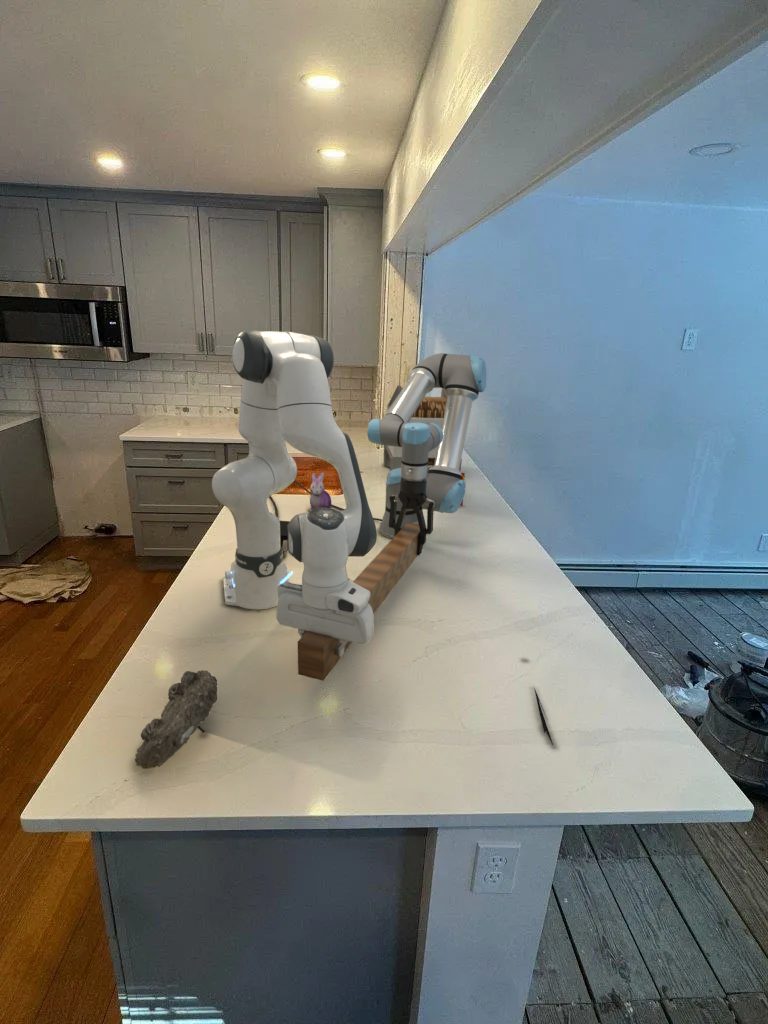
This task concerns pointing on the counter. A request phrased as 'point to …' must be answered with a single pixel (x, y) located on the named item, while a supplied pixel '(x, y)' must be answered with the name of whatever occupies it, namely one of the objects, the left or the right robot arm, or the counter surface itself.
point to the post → (379, 582)
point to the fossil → (178, 718)
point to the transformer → (425, 413)
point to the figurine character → (283, 535)
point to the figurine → (319, 493)
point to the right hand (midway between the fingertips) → (409, 551)
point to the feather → (542, 717)
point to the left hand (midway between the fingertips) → (323, 650)
